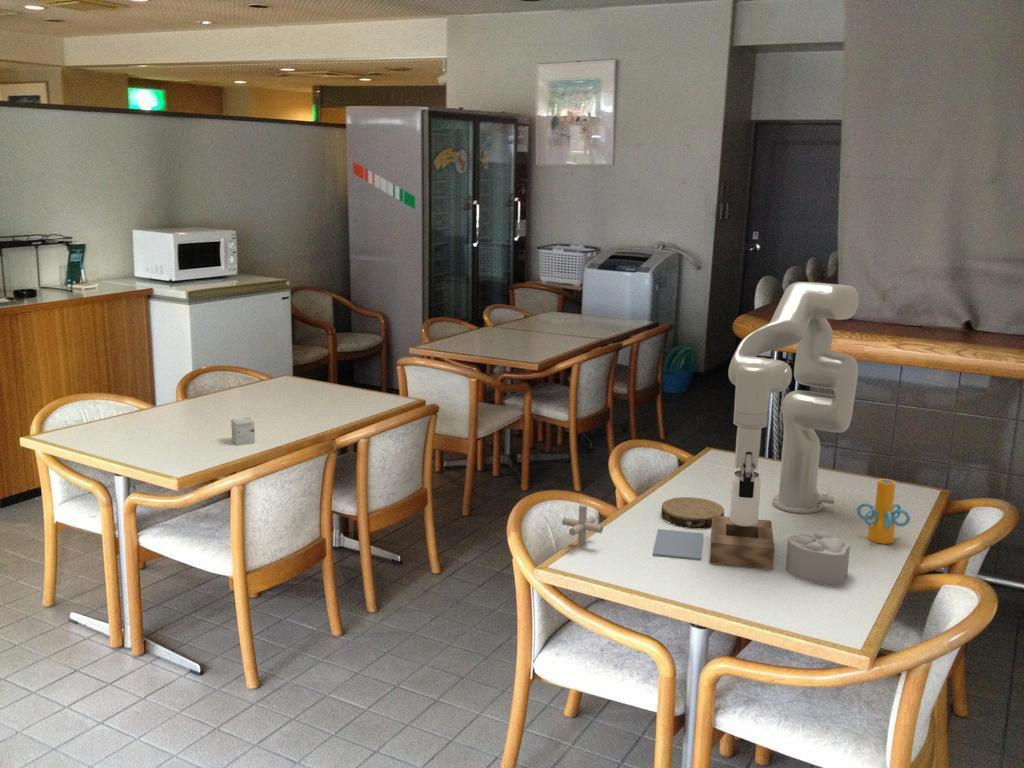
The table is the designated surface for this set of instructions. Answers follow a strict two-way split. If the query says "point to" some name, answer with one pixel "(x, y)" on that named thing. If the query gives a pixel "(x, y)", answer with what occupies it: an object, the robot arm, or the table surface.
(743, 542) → the housing block
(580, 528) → the pipe connector
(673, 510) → the wooden disc
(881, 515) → the cylinder
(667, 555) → the rubber mat
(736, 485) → the can
